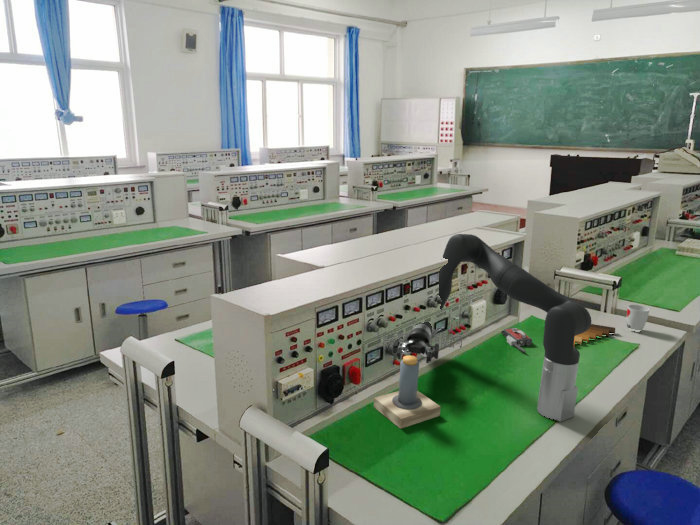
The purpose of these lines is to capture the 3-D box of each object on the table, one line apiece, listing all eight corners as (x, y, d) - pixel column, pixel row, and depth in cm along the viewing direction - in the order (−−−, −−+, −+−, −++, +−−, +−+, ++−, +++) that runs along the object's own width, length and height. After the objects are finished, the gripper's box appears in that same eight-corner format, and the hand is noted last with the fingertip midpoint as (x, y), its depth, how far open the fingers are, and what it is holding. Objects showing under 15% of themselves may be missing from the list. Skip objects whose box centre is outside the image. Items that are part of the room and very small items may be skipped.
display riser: (439, 415, 155) (440, 405, 154) (400, 428, 147) (401, 417, 147) (411, 395, 165) (412, 386, 164) (373, 407, 158) (374, 396, 157)
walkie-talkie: (496, 334, 217) (521, 355, 198) (497, 324, 216) (523, 344, 197) (515, 333, 219) (543, 354, 200) (517, 323, 218) (544, 343, 199)
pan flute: (613, 334, 223) (549, 323, 232) (615, 326, 222) (550, 316, 231) (617, 356, 201) (546, 344, 210) (618, 348, 200) (547, 336, 209)
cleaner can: (419, 402, 155) (423, 360, 151) (405, 407, 152) (408, 364, 149) (408, 394, 159) (411, 353, 156) (394, 398, 156) (397, 356, 153)
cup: (625, 325, 232) (629, 303, 229) (646, 330, 227) (651, 307, 225) (622, 330, 226) (626, 308, 223) (643, 335, 221) (648, 312, 219)
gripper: (398, 324, 179) (390, 343, 164) (441, 330, 176) (438, 349, 161) (397, 346, 181) (389, 366, 166) (440, 351, 178) (436, 372, 163)
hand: (413, 358), depth 163 cm, fingers open, 8 cm apart
